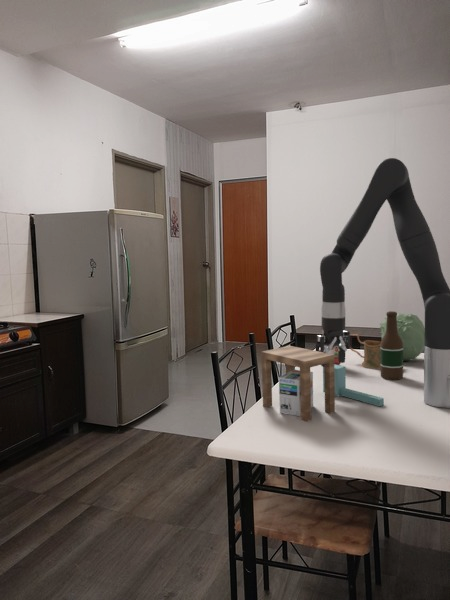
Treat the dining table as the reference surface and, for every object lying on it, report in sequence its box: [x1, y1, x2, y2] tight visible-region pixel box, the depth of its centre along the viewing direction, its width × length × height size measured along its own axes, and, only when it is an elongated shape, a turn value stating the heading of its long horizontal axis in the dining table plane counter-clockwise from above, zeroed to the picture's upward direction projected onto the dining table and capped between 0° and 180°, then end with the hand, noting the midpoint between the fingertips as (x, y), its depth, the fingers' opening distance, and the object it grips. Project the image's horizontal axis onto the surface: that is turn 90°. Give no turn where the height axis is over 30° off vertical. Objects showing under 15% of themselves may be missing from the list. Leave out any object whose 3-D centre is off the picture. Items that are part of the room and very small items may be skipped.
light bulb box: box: [278, 369, 314, 417], centre depth 139 cm, size 11×7×11 cm, turn 148°
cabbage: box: [379, 312, 425, 362], centre depth 194 cm, size 16×19×20 cm
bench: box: [261, 345, 336, 422], centre depth 139 cm, size 18×12×17 cm, turn 37°
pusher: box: [322, 364, 385, 407], centre depth 148 cm, size 21×4×9 cm, turn 37°
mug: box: [349, 333, 381, 370], centre depth 189 cm, size 12×18×12 cm, turn 54°
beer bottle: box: [379, 311, 404, 381], centre depth 169 cm, size 8×8×24 cm
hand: (333, 364), depth 153 cm, fingers open, 8 cm apart
